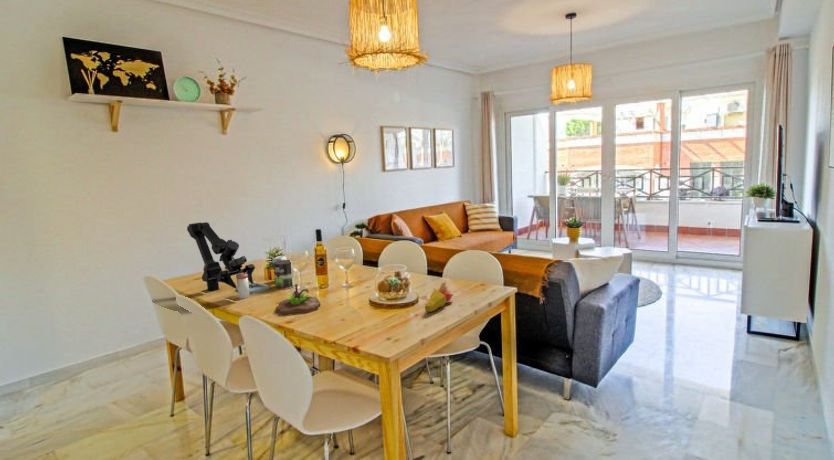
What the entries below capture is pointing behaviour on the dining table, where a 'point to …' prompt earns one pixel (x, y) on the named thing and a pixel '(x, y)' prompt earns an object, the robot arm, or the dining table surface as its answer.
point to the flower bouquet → (438, 297)
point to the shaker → (243, 286)
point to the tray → (257, 288)
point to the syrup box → (279, 258)
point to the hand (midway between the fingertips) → (244, 285)
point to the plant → (298, 303)
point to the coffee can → (283, 274)
